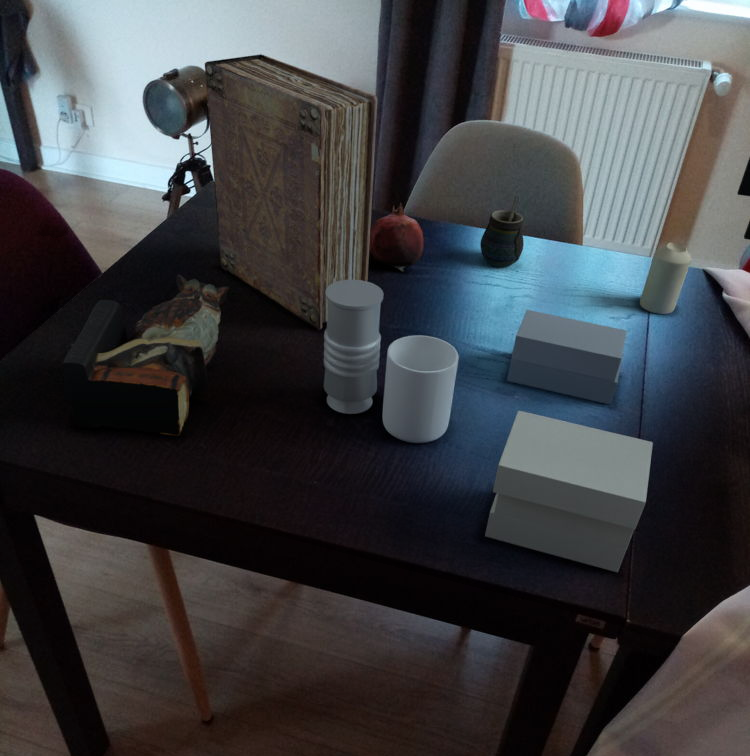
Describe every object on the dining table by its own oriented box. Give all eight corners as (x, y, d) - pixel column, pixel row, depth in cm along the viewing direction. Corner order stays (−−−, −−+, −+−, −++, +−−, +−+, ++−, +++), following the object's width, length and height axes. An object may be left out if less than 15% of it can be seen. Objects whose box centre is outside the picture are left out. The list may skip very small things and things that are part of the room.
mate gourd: (474, 266, 133) (482, 207, 126) (482, 249, 138) (491, 192, 131) (516, 274, 131) (527, 215, 125) (523, 256, 137) (534, 199, 130)
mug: (389, 387, 103) (395, 316, 97) (451, 394, 103) (462, 324, 96) (377, 440, 94) (383, 367, 88) (445, 449, 94) (456, 376, 87)
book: (366, 312, 118) (378, 96, 98) (319, 331, 113) (322, 107, 93) (266, 253, 132) (259, 52, 112) (220, 267, 127) (204, 60, 107)
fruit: (405, 281, 127) (410, 221, 120) (356, 265, 130) (359, 205, 124) (432, 262, 133) (439, 203, 126) (385, 247, 136) (389, 189, 130)
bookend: (55, 368, 86) (116, 250, 103) (80, 440, 94) (133, 319, 111) (188, 374, 86) (227, 255, 103) (202, 446, 94) (236, 324, 111)
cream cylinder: (649, 315, 123) (669, 254, 116) (633, 299, 127) (651, 239, 120) (680, 313, 124) (701, 253, 118) (663, 297, 128) (682, 238, 121)
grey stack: (616, 374, 109) (630, 330, 104) (610, 405, 103) (624, 359, 99) (518, 353, 112) (527, 308, 107) (506, 381, 106) (516, 335, 102)
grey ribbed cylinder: (339, 380, 104) (342, 274, 94) (385, 395, 102) (394, 289, 92) (312, 404, 99) (313, 296, 89) (360, 422, 97) (366, 312, 87)
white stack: (624, 523, 86) (643, 474, 81) (617, 572, 80) (636, 523, 75) (500, 490, 89) (511, 441, 84) (484, 536, 83) (495, 486, 78)
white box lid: (643, 468, 82) (653, 442, 80) (635, 529, 75) (645, 502, 72) (512, 436, 85) (518, 410, 83) (492, 492, 78) (498, 464, 75)
